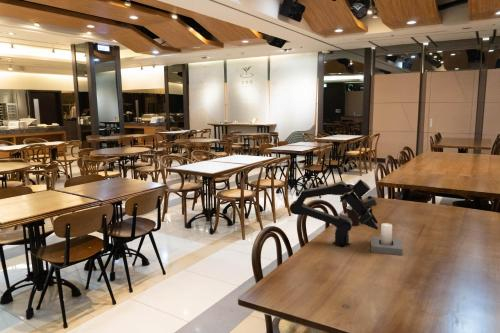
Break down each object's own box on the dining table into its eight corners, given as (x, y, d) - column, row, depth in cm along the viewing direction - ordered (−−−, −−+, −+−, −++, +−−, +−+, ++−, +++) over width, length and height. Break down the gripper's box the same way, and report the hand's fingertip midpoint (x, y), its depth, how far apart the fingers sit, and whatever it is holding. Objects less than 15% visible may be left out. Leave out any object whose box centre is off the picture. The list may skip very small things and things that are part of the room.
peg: (382, 250, 181) (383, 226, 180) (379, 246, 186) (380, 223, 184) (392, 250, 181) (393, 226, 179) (389, 246, 186) (390, 223, 184)
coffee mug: (357, 227, 215) (358, 210, 214) (343, 224, 220) (344, 208, 219) (365, 222, 224) (365, 206, 223) (351, 219, 230) (351, 204, 228)
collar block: (370, 252, 179) (371, 246, 179) (371, 241, 193) (371, 236, 192) (402, 255, 175) (402, 249, 175) (400, 244, 188) (400, 238, 188)
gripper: (367, 196, 174) (391, 221, 172) (367, 187, 191) (389, 210, 189) (348, 211, 177) (372, 236, 176) (351, 201, 195) (372, 224, 193)
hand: (377, 225), depth 183 cm, fingers open, 9 cm apart
